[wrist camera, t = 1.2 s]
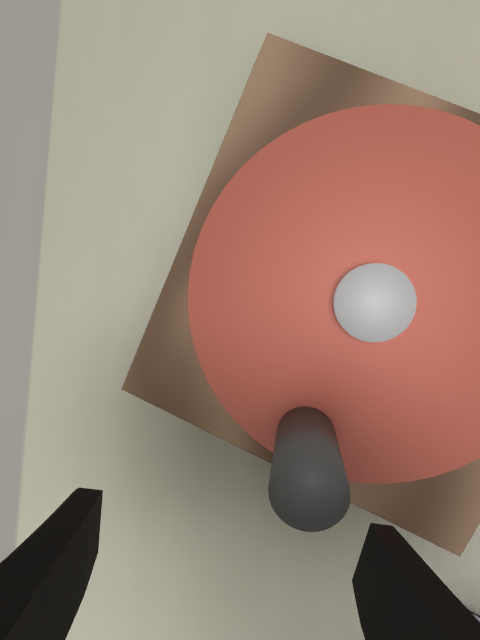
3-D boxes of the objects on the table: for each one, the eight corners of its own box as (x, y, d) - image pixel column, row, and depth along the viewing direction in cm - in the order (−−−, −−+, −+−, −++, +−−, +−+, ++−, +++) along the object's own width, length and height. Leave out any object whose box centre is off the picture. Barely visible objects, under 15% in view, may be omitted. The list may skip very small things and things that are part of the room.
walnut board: (643, 196, 17) (675, 189, 16) (447, 536, 20) (459, 556, 18) (269, 52, 19) (267, 32, 18) (133, 381, 22) (121, 389, 20)
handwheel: (278, 59, 17) (268, -57, 11) (643, 201, 16) (848, 152, 10) (143, 381, 20) (77, 424, 14) (452, 532, 18) (526, 653, 12)
